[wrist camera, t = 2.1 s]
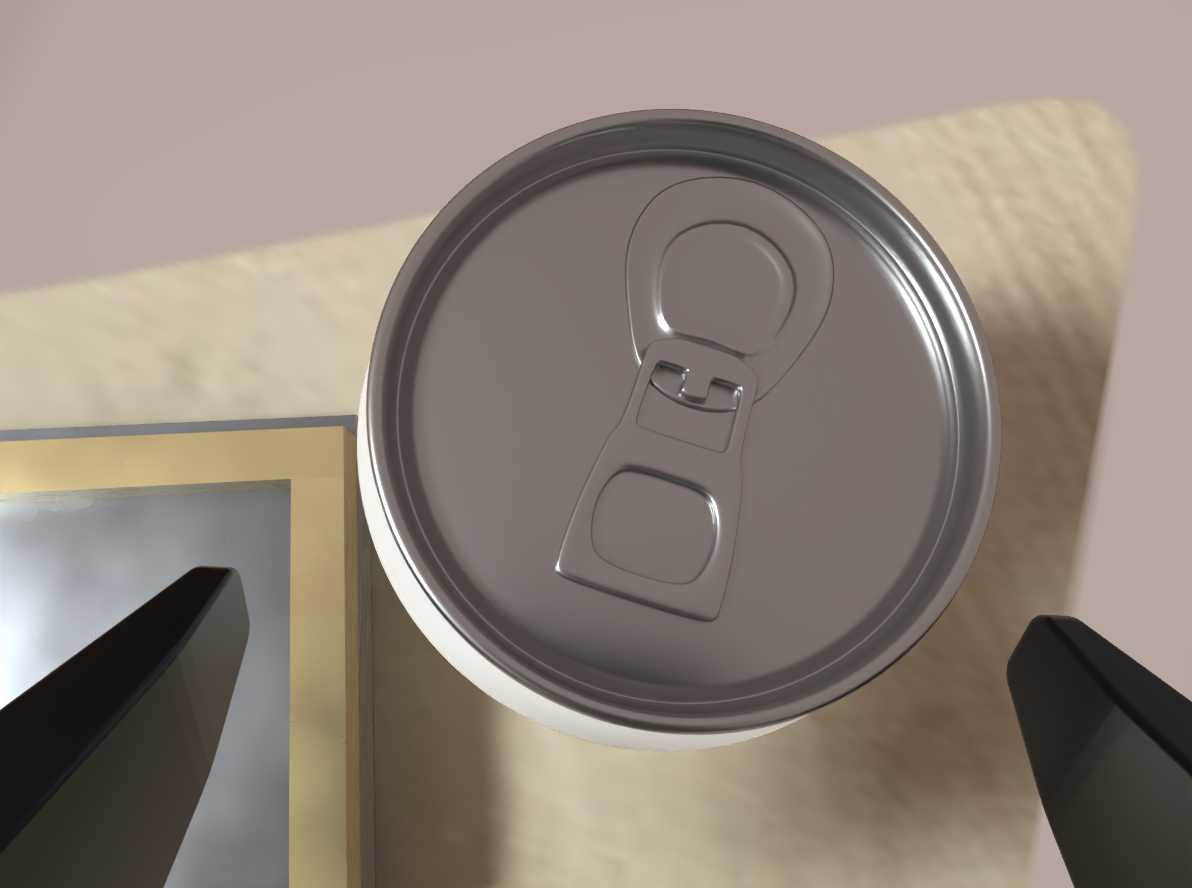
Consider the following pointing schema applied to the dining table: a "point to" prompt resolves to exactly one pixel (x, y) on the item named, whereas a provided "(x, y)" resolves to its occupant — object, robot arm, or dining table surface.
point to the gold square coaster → (274, 602)
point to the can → (676, 430)
